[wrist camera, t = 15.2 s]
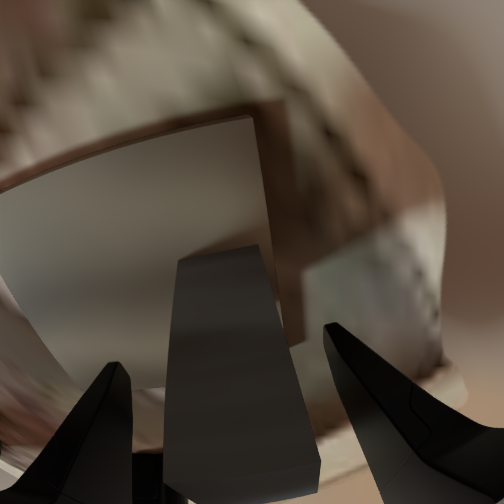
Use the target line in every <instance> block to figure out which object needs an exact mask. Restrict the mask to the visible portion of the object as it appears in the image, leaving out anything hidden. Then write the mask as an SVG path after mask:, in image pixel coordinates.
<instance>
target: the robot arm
mask: <svg viewBox="0 0 504 504" xmlns="http://www.w3.org/2000/svg"><path fill="white" fill-rule="evenodd" d="M323 343H324V348H325V352H326V355H327V359H328V362H329V366H330V369H331V372H332V376H333V379H334V383H335V386H336V389H337V391H338V394H339V396H340V399H341V401H342V403H343V406H344V408H345V410H346V413H347V415H348V417H349V420H350V422H351V424H352V427H353V429H354V431H355V434H356V436H357V439H358V441H359V443H360V446H361V448H362V451H363V453H364V455H365V458H366V460H367V463H368V465H369V467H370V470H371V472H372V474H373V477H374V480H375V482H376V484H377V487H378V489H379V491H380V494H381V497H382V500H383V502H384V504H504V428H493V427H487V426H484V425H481V424H478V423H476V422H474V421H473V420H471V419H469V418H468V417H466V416H464V415H462V414H461V413H459V412H457V411H456V410H454V409H452V408H451V407H449V406H447V405H445V404H444V403H442V402H441V401H439V400H438V399H436V398H434V397H433V396H432V395H430V394H429V393H427V392H426V391H425V390H423V389H422V388H421V387H419V386H418V385H417V384H416V383H414V382H413V383H412V380H410V379H409V378H408V377H406V376H405V375H404V374H403V373H401V372H400V371H399V370H397V369H396V368H395V367H394V366H392V365H391V364H390V363H388V362H387V361H386V360H385V359H383V358H382V357H381V356H379V355H378V354H377V353H376V352H374V351H373V350H372V349H371V348H369V347H368V346H367V345H365V344H364V343H363V342H362V341H360V340H359V339H358V338H356V337H355V336H354V335H353V334H351V333H350V332H349V331H347V330H346V329H345V328H344V327H342V326H341V325H340V324H338V323H337V322H333V323H329V324H325V325H324V327H323ZM132 434H133V411H132V391H131V378H130V376H129V374H128V373H127V371H126V370H125V368H124V367H123V365H122V364H121V363H120V362H119V361H113V362H108V363H107V364H106V365H105V366H104V368H103V369H102V370H101V372H100V373H99V374H98V376H97V377H96V378H95V380H94V381H93V382H92V383H91V385H90V386H89V387H88V389H87V390H86V391H85V393H84V394H83V395H82V397H81V398H80V399H79V401H78V402H77V404H76V405H75V406H74V408H73V409H72V410H71V412H70V413H69V414H68V416H67V417H66V419H65V420H64V421H63V423H62V424H61V425H60V427H59V428H58V430H57V431H56V432H55V434H54V436H53V437H52V438H51V439H50V441H49V442H48V444H47V445H46V446H45V448H44V449H43V450H42V452H41V453H40V454H39V455H38V457H37V458H36V459H35V460H34V462H33V463H32V464H31V465H30V466H29V468H28V469H27V470H26V471H25V472H24V473H23V475H22V476H21V477H20V478H19V479H18V481H17V482H16V483H15V484H14V485H12V486H11V487H9V488H7V489H5V490H2V491H0V504H189V503H188V498H186V497H185V496H183V495H181V494H180V493H178V492H177V491H175V490H174V489H172V488H171V487H169V486H168V485H166V484H165V483H163V455H152V456H132Z"/></svg>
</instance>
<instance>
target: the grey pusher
mask: <svg viewBox="0 0 504 504" xmlns="http://www.w3.org/2000/svg"><path fill="white" fill-rule="evenodd" d="M0 274H1V276H2V278H3V279H4V281H5V283H6V285H7V287H8V288H9V290H10V292H11V293H12V295H13V297H14V298H15V300H16V302H17V303H18V305H19V307H20V308H21V310H22V311H23V313H24V315H25V316H26V318H27V319H28V321H29V322H30V324H31V325H32V327H33V328H34V330H35V331H36V332H37V334H38V335H39V337H40V338H41V340H42V341H43V342H44V344H45V345H46V346H47V348H48V349H49V351H50V352H51V353H52V354H53V356H54V357H55V358H56V360H57V361H58V362H59V364H60V365H61V366H62V367H63V369H64V370H65V371H66V372H67V374H68V375H69V376H70V377H71V378H72V380H73V381H74V382H75V383H76V384H77V385H78V387H79V388H80V389H81V390H82V391H83V392H84V393H85V391H86V390H87V389H88V387H89V386H90V385H91V383H92V382H93V381H94V380H95V378H96V377H97V376H98V374H99V373H100V372H101V370H102V369H103V368H104V366H105V365H106V364H107V363H108V362H113V361H119V362H120V363H121V364H122V365H123V367H124V368H125V370H126V371H127V373H128V374H129V376H130V378H131V390H139V389H150V388H160V387H166V391H165V411H164V441H163V483H165V484H166V485H168V486H169V487H171V488H172V489H174V490H175V491H177V492H178V493H180V494H181V495H183V496H185V497H186V498H188V499H189V500H191V501H193V502H194V503H196V504H263V503H269V502H275V501H281V500H286V499H291V498H296V497H301V496H305V495H309V494H314V493H317V492H318V484H319V476H320V467H321V459H320V455H319V452H318V448H317V445H316V441H315V438H314V434H313V430H312V427H311V423H310V420H309V416H308V413H307V409H306V406H305V402H304V399H303V396H302V392H301V389H300V385H299V382H298V378H297V375H296V371H295V368H294V364H293V361H292V357H291V354H290V351H289V347H288V344H287V340H286V337H285V333H284V330H283V322H282V314H281V306H280V299H279V291H278V284H277V277H276V269H275V262H274V255H273V248H272V241H271V234H270V227H269V220H268V213H267V206H266V200H265V193H264V186H263V180H262V173H261V167H260V160H259V154H258V147H257V141H256V135H255V129H254V122H253V117H251V116H250V115H249V114H246V115H240V116H234V117H229V118H223V119H218V120H213V121H208V122H204V123H199V124H194V125H190V126H186V127H181V128H177V129H173V130H169V131H165V132H161V133H157V134H153V135H150V136H146V137H142V138H139V139H135V140H132V141H129V142H125V143H122V144H119V145H115V146H112V147H109V148H106V149H103V150H100V151H97V152H94V153H91V154H88V155H85V156H82V157H80V158H77V159H74V160H71V161H69V162H66V163H63V164H61V165H58V166H55V167H53V168H50V169H48V170H45V171H43V172H41V173H38V174H36V175H33V176H31V177H29V178H26V179H24V180H22V181H20V182H17V183H15V184H13V185H11V186H9V187H7V188H4V189H2V190H0Z"/></svg>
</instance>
